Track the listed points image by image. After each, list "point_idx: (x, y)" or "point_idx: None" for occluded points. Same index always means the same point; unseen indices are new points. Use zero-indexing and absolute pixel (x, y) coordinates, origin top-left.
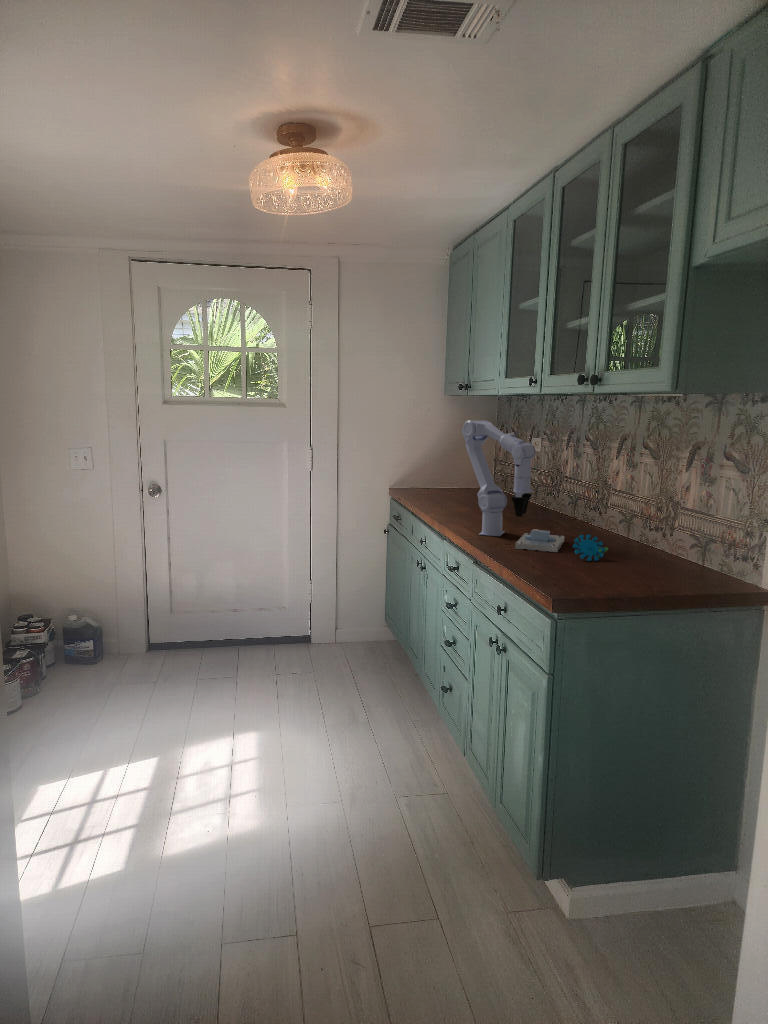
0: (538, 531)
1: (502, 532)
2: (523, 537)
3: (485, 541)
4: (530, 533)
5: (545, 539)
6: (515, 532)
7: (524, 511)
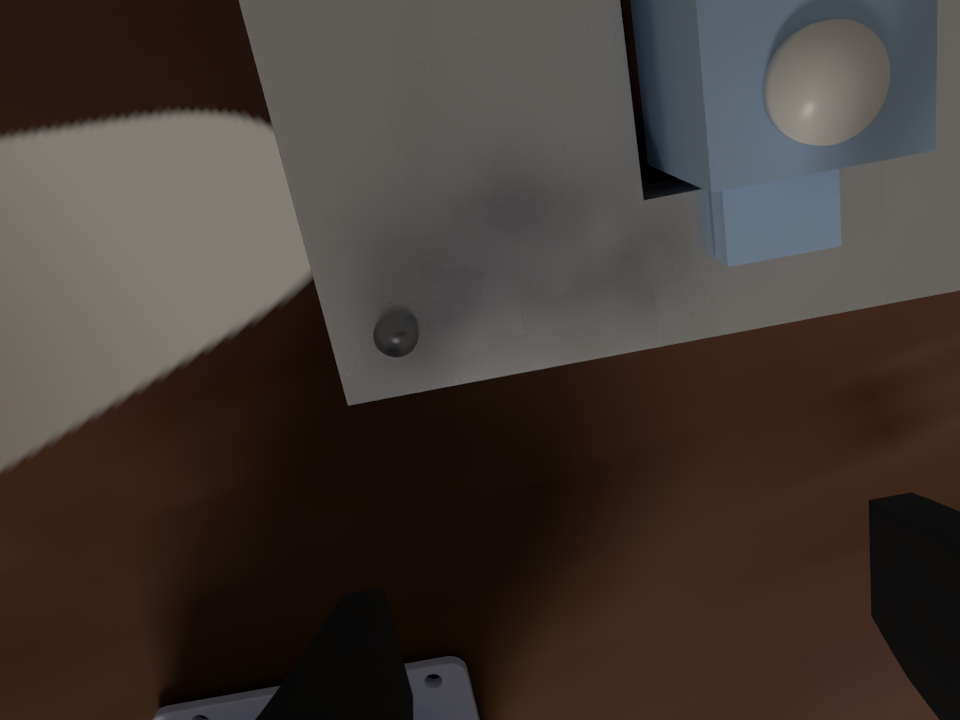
0: (861, 17)
1: (261, 704)
2: (719, 299)
3: (815, 670)
4: (330, 325)
5: None
6: (40, 612)
7: (384, 641)
